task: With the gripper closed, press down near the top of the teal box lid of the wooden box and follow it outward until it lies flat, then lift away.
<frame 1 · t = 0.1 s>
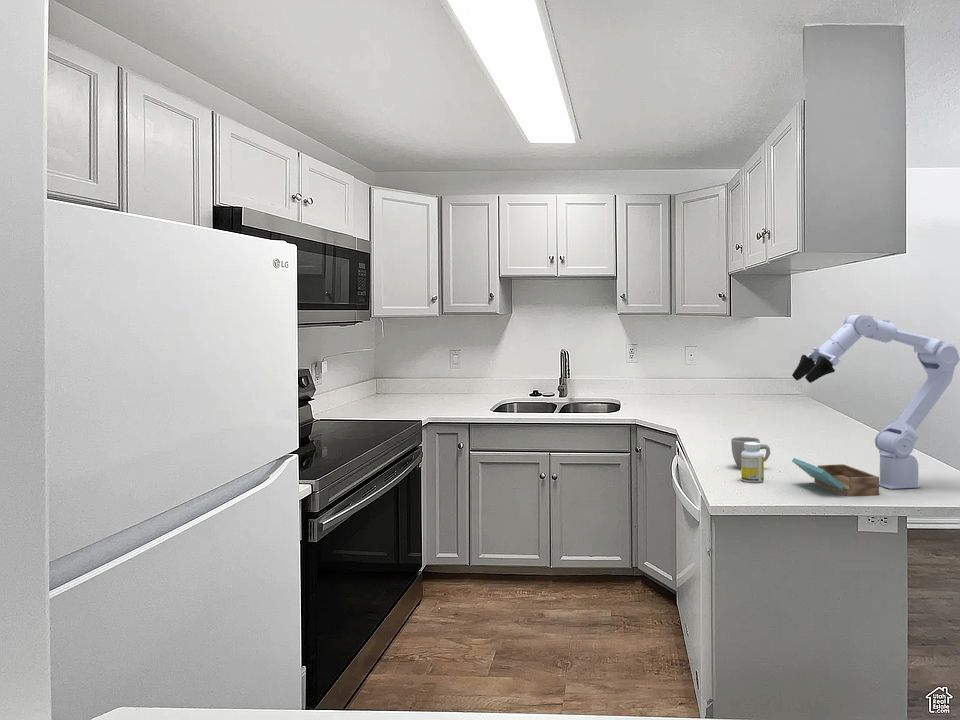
hand: (800, 379, 215), 32 cm above the worktop, tool tilted 50°, fingers open, 7 cm apart
wooden box: (845, 488, 218), on the worktop
mug: (750, 468, 248), on the worktop
pill bottle: (752, 481, 230), on the worktop
teal box lid: (818, 474, 217), point 5 cm above the worktop, hinge at 50.0°
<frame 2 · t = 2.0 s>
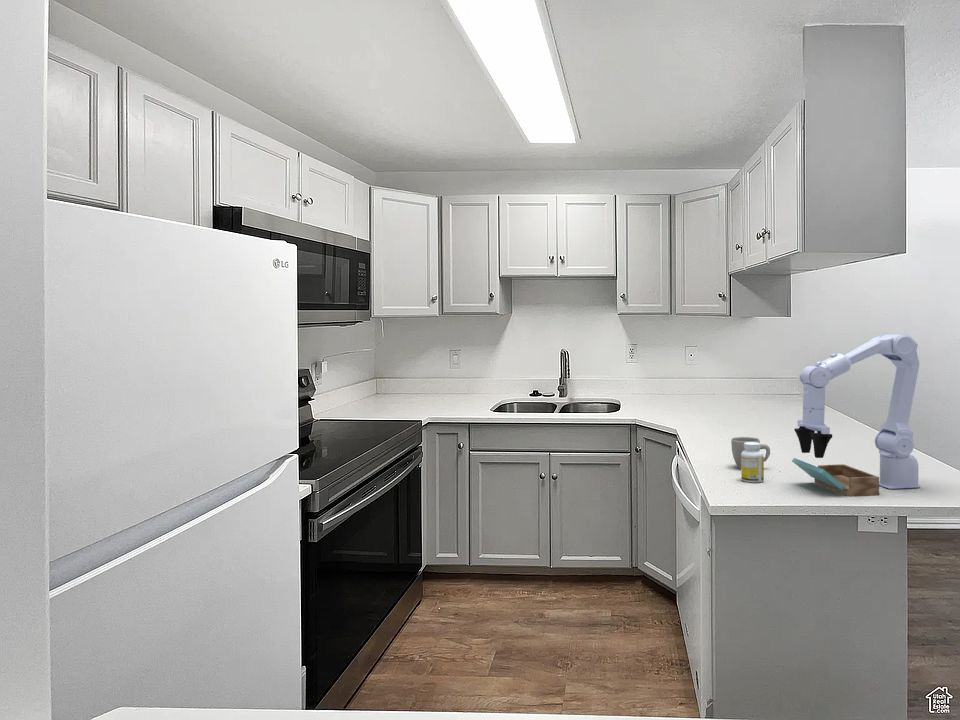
hand: (812, 455, 216), 10 cm above the worktop, tool pointing down, fingers open, 7 cm apart
nothing on the worktop moved.
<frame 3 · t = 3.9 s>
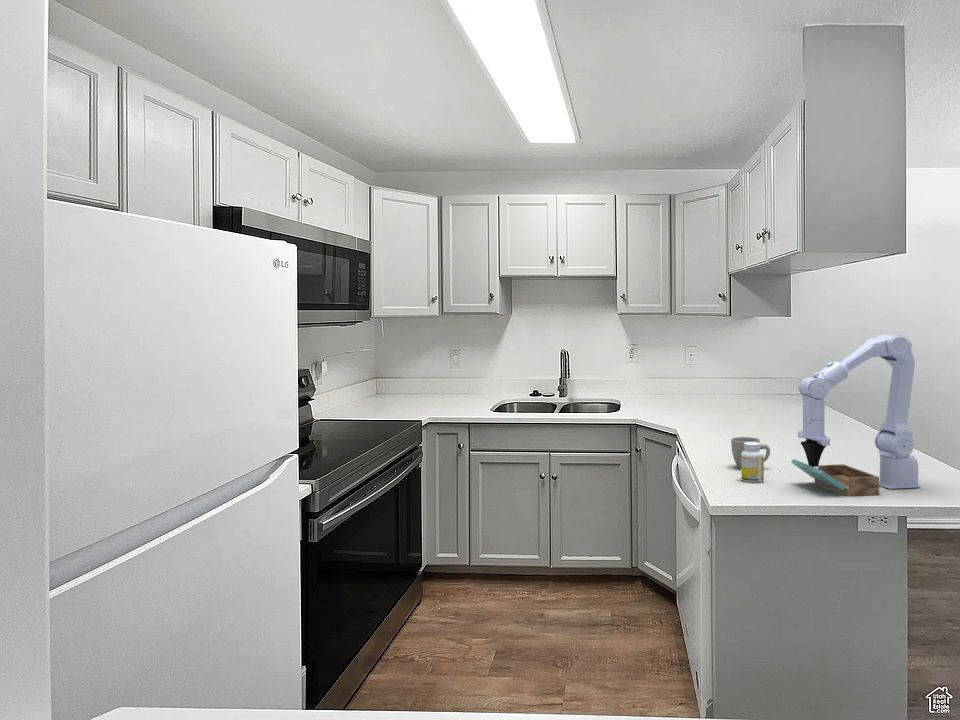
hand: (813, 466, 217), 7 cm above the worktop, tool pointing down, fingers closed, pressing on teal box lid
teal box lid: (817, 474, 217), point 4 cm above the worktop, hinge at 53.0°, touching gripper
everything else where it was.
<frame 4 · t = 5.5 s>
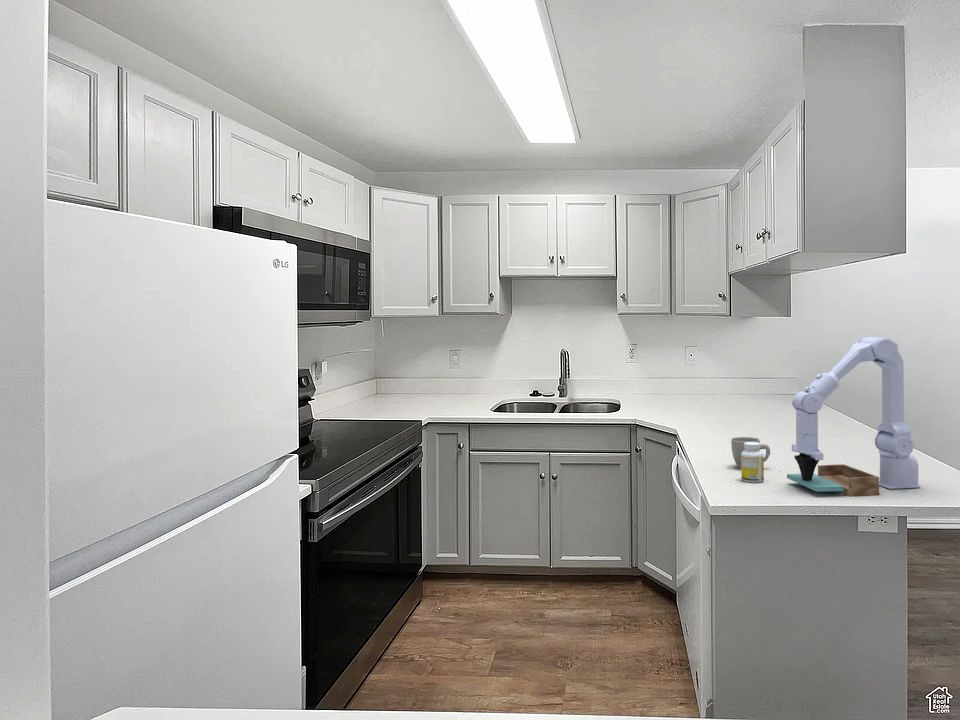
hand: (807, 480, 217), 3 cm above the worktop, tool pointing down, fingers closed, pressing on teal box lid
teal box lid: (815, 482, 217), point 2 cm above the worktop, hinge at 88.7°, touching gripper
everything else where it was.
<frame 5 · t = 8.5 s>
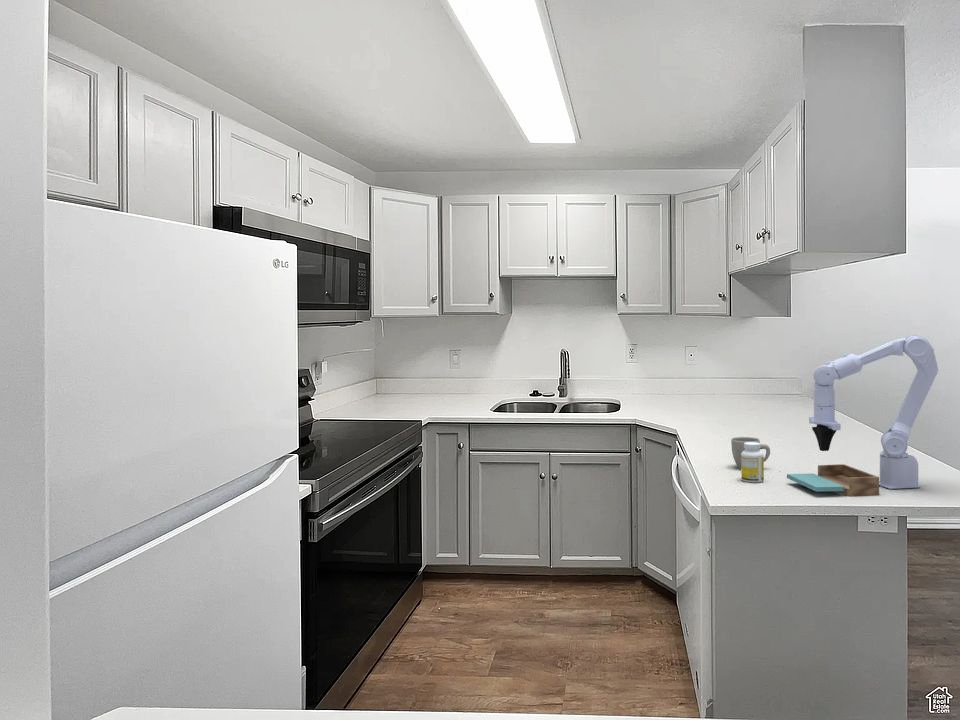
hand: (824, 450, 226), 9 cm above the worktop, tool pointing down, fingers closed
teal box lid: (815, 482, 217), point 2 cm above the worktop, hinge at 88.7°
everything else where it was.
at the end: teal box lid at +89° (first picture: +50°); pill bottle moved 0.2 cm from its start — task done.
